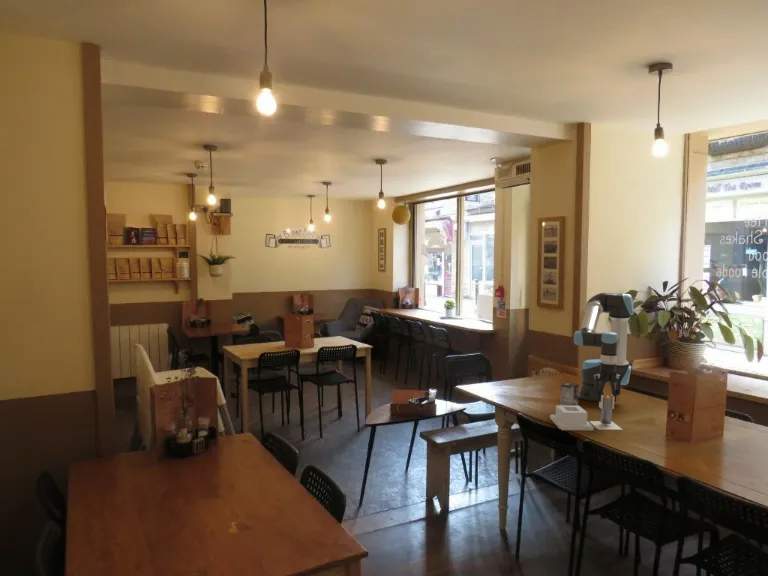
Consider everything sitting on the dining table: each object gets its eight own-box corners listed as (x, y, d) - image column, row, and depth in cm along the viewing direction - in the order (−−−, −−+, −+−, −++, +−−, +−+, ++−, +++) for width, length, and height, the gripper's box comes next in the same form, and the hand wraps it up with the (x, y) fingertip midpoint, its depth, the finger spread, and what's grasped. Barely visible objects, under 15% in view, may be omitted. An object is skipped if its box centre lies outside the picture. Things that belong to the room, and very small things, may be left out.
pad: (589, 421, 274) (589, 421, 274) (612, 422, 274) (612, 421, 274) (598, 429, 262) (598, 429, 262) (622, 430, 262) (622, 429, 262)
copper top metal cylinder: (598, 421, 270) (600, 394, 269) (608, 421, 270) (609, 394, 269) (602, 424, 265) (604, 397, 264) (612, 424, 265) (613, 397, 264)
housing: (549, 418, 279) (550, 403, 279) (580, 418, 279) (580, 403, 278) (560, 430, 261) (561, 414, 261) (593, 430, 261) (593, 414, 260)
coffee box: (566, 410, 293) (568, 381, 292) (578, 412, 289) (579, 384, 288) (559, 413, 287) (560, 384, 286) (570, 416, 283) (571, 387, 281)
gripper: (593, 364, 262) (591, 410, 264) (629, 364, 262) (627, 410, 263) (587, 361, 269) (585, 405, 271) (622, 361, 269) (620, 405, 271)
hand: (606, 407), depth 267 cm, fingers closed on copper top metal cylinder, 5 cm apart
